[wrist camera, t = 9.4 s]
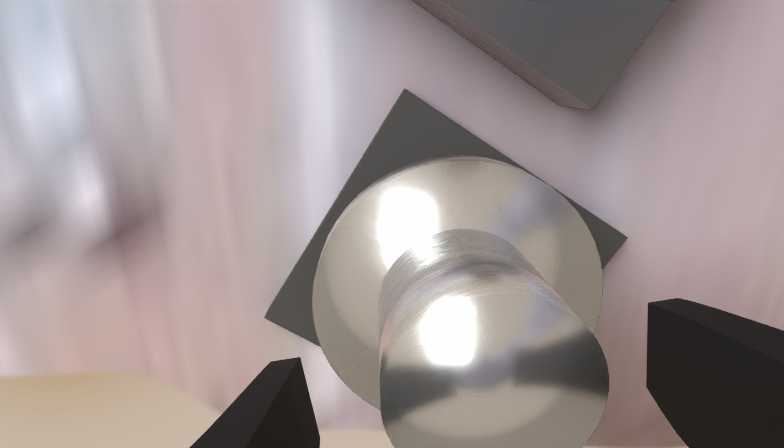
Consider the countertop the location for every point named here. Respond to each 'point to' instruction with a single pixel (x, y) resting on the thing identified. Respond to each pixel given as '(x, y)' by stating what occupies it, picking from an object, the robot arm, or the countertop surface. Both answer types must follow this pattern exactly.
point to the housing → (555, 39)
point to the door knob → (465, 308)
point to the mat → (386, 154)
